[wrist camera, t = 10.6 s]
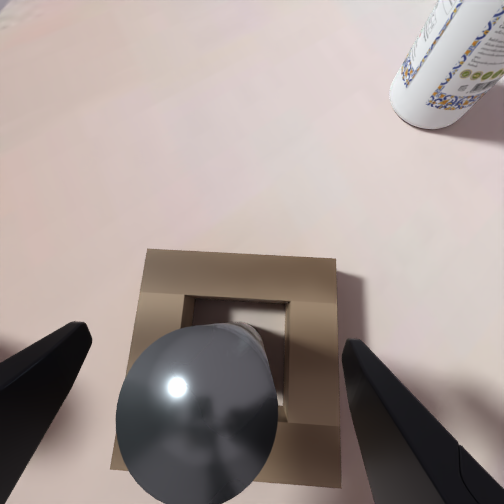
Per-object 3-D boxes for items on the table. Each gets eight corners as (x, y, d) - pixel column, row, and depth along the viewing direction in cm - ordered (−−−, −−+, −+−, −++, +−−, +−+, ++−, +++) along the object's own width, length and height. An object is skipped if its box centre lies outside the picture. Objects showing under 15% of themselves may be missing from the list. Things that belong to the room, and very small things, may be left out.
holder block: (327, 459, 17) (341, 488, 14) (134, 444, 17) (109, 469, 15) (324, 267, 20) (335, 258, 17) (162, 258, 21) (147, 248, 18)
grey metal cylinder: (262, 381, 18) (275, 516, 6) (207, 377, 18) (100, 502, 6) (265, 323, 19) (280, 330, 7) (212, 320, 19) (131, 320, 7)
